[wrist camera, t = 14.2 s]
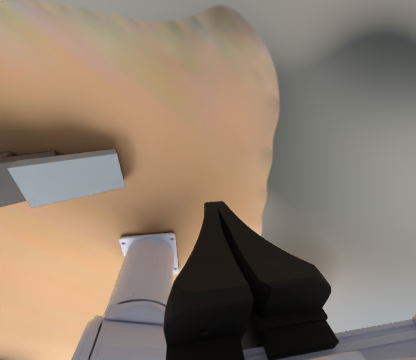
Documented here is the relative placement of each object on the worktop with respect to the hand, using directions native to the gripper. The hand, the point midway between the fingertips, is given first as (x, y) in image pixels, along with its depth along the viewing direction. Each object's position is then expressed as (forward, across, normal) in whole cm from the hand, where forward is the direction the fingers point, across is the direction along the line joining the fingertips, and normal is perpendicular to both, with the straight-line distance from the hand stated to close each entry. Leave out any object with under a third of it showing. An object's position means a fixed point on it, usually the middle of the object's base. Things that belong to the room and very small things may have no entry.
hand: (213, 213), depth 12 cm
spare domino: (+9, +9, 0) cm, 13 cm away
